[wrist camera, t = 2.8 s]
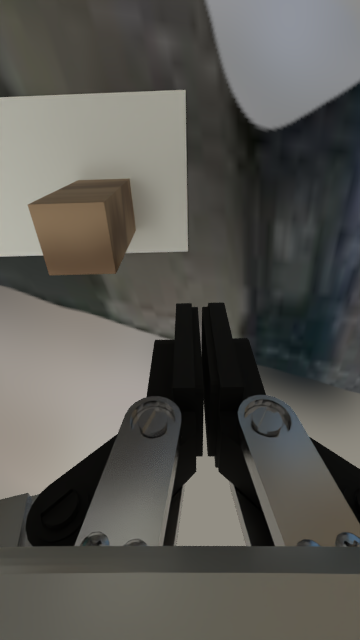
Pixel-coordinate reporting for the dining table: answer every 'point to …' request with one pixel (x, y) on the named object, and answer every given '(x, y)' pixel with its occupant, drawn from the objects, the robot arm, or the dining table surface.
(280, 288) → the dining table surface
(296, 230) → the dining table surface
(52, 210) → the walnut block
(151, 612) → the robot arm
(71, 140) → the white rectangular board
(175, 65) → the dining table surface
